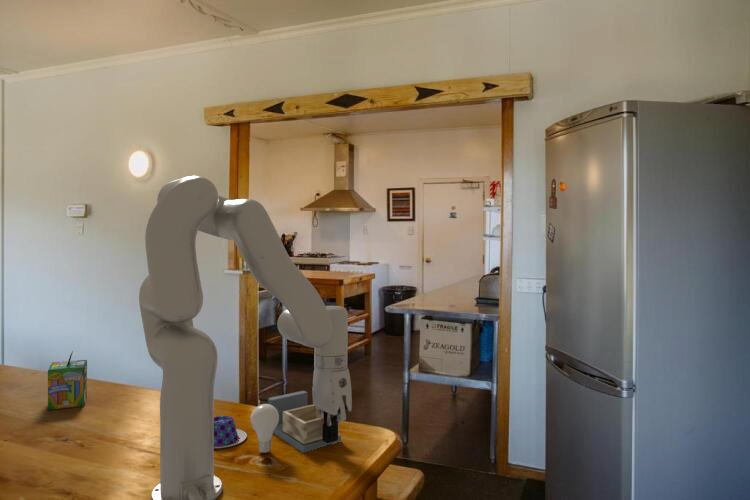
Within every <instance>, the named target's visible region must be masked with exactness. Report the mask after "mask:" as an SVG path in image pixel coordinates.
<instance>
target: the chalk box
mask: <svg viewBox="0 0 750 500" xmlns="http://www.w3.org/2000/svg"><path fill="white" fill-rule="evenodd" d="M73 352H74V351H71V353H70V355H69V358H68V360H65V361H64V360H63V361H52V362H51V364H50V366H49V367H48V370H47V411H52V410H60V409H61V410H62V409H69V408H79V407H84V406H86V401H87V397H88V395H87V393H88V391H87V387H88V386H87V379H88V378H87V377H88V360H87V359H82V360H81V359H80V360H72V356H73Z"/></svg>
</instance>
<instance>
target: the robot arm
mask: <svg viewBox="0 0 750 500" xmlns="http://www.w3.org/2000/svg"><path fill="white" fill-rule="evenodd" d="M156 203H157V204H156V205H155V206H154V208H153V210H152V211H151V214H150V215H149V217H148V220H147V225H146V227H145V235H144V236H145V237H144V241H145V252H146V261H147V270H148V275H147V276H146V277H145V279H144V280H143V282H142V283H141V285H140V287H139V293H138V302H139V309H140V316H141V321H142V326H143V327H142V328H143V334H144V338H145V343H146V347H147V351H148V354H149V357H150V358H151V360H152V362H153V363H154V364H155V365H157V366H158V367H159V368H160V369H161V370H162V382H161V388H160V397H159V398H160V399H159V417H160V418H159V420H160V421H159V425H160V426H159V431H160V432H159V435H160V436H159V441H160V443H159V447H160V449H159V452H160V453H159V458H160V459H159V462H160V463H159V464H160V466H159V468H160V469H159V470H160V472H159V473H160V475H159V476H160V477H159V478H160V483H159V484H157V485H156V486H155V487H154V488H152V489H153V490H152V491H151V494H150V495H151V497H150V498H151V499H150V500H216V499H218V497H219V496H220V495H221V493H222V491H223V482H222V480H221V479H220V478H219V477H218V476H216V475H215V474H214V473H215V471H214V470H215V469H214V468H215V465H214V462H215V460H214V459H215V458H214V456H215V455H214V454H215V453H214V452H215V451H214V450H215V448H214V447H215V446H214V416H215V413H214V411H215V409H214V407H215V406H214V405H215V403H214V399H215V398H214V397H215V394H214V393H215V381H216V375H217V368H218V361H219V360H218V359H219V358H218V350H217V346H216V344H215V343H214V341H213V339H212V338H211V336H209V335H208V334H207V333H206V332H204V331H202V330H201V329H199V328H196V327H194V321H193V319H195V318H196V317H197V316H198V315H199V313H200V312H201V310H202V308H203V305H204V294H203V289H202V282H201V278H200V272H199V267H198V266H199V265H198V259H197V249H196V241H197V240H196V239H197V235H198V232H201V233H204V234H206V235H207V234H208V235H211V236H214V237H217V238H221V239H224V240H229V241H231V240H232V241H233V243H234V244H235V246H236V247H237V248H236V249H238V251H239V254H240V255H241V256H242V259H243V260H244V262H245V265H246V266H247V269H248V271H249V272H250V274H251V276H252V278H253V279H254V281H255V282H256V283H257V284H259V285H260V287H262V288H263V289H264V290H265V291H267V292H268V293H269V294H271V295H272V296H273V297H275V299H277V300H278V301H279V302H280V303H281V304H282V305H283V306H284V308H285V309H284V311H282V312H281V314H280V315H279V317H278V319H277V322H276V323H277V330H278V332H279V334H280V335H281V336H282V337H283V338H284V339H287V340H288V341H291V342H294V343H297V344H301V345H303V346H305V347H308V348H311V349H312V348H314V354H313V356H314V357H313V358H314V359H313V360H314V363H313V367H314V369H313V374H312V375H313V376H312V389H311V390H312V404H314V405H315V406H316V409H317V410H318V411H319V412H320V414H321V422H322V423H324V424H323V434H322V440H323V441H324V442H326V443H330V442H334V441H337V440H338V424H339V425H340V422H345V421H346V420H347V415H346V414H347V413H351V412H352V409H353V403H352V402H353V399H352V395H353V393H352V384H351V383H352V381H351V374H350V370H349V368H348V350H349V349H348V345H349V344H348V338H349V337H348V336H349V331H348V329H349V328H348V327H349V326H348V325H349V322H348V321H349V315H348V314H349V313H348V312H349V311H348V310H347V308H345V307H343V306H341V305H326V304H325V303H324V300H323V299H322V296H321V295H320V294H319V292H318V290H317V288H315V286H314V285H313V284H312V283H311V281H310V280H309V279H308V278H307V277H306V275H304V273H303V272H302V271H301V270H300V268H299V267H298V266H297V265H296V264H295V263H294V262H293V260H292V259H291V257H290V255H289V253H288V252H287V250H286V248H285V246H284V243H283V241H282V239H281V238H280V236H279V233H278V231H277V229H276V227H275V225H274V224H273V221H272V219H271V217H270V216H269V212H268V211H267V210H266V208H265V207H264V205H263V204H262V203H260V202H259V201H257V200H256V199H251V198H240V199H231V198H226V197H224V196H220V195H219V192H218V190H217V187H216V185H215V184H214V183H213V181H211V180H210V179H208V178H206V177H204V176H201V175H191V176H185V177H181V178H178V179H175V180H171V181H169V182H168V183H165V184H164V185H163V186H162V187H161V188H160V190H159V192H158V193H157V200H156Z"/></svg>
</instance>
